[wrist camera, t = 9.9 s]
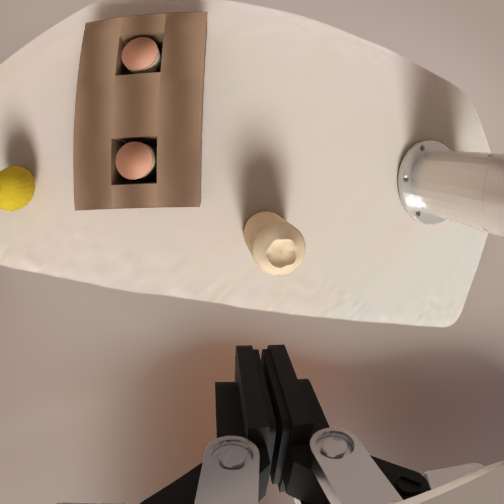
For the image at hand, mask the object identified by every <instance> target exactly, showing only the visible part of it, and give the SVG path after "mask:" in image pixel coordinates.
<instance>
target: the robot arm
mask: <svg viewBox="0 0 504 504" xmlns="http://www.w3.org/2000/svg"><path fill="white" fill-rule="evenodd" d="M398 189H399V194H400V198H401V201H402V204H403V206H404V207H405V209H406V211H407V212H408V213H409V214H410V216H411V217H413V218H414V219H415V220H417V221H419V222H421V223H425V224H438V223H441V222H443V221H444V220H446V219H448V220H451V221H454V222H457V223H461V224H464V225H467V226H470V227H473V228H476V229H479V230H482V231H485V232H488V233H491V234H494V235H497V236H500V237H503V238H504V154H496V153H480V152H457V151H451V150H450V149H449V148H448V147H447V146H446V145H444V144H442V143H440V142H438V141H432V140H428V141H422V142H418V143H417V144H415V145H413V146H412V147H411V148H410V149H409V150H408V151H407V153H406V154H405V156H404V158H403V160H402V162H401V165H400V169H399V175H398ZM215 390H216V391H215V394H216V428H217V439H215V440H213V441H212V442H211V443H210V444H209V445H208V446H207V448H206V450H205V454H204V459H203V462H202V463H201V464H199V465H198V466H197V467H195V468H194V469H192V470H191V471H189V472H188V473H186V474H185V475H183V476H182V477H180V478H179V479H177V480H176V481H175V482H173V483H171V484H170V485H168V486H167V487H165V488H163V489H162V490H160V491H159V492H157V493H155V494H154V495H152V496H151V497H149V498H147V499H146V500H144V501H143V502H142V503H140V504H258V502H259V501H260V500H261V499H262V498H263V497H264V496H265V495H266V489H267V484H268V481H269V475H270V476H271V481H272V484H278V487H279V491H280V492H284V491H286V493H287V494H288V495H290V496H292V497H294V501H295V504H504V461H503V462H499V463H495V464H492V465H489V466H486V467H484V466H483V465H481V464H478V463H469V464H464V465H459V466H455V467H449V468H444V469H438V470H431V471H426V472H425V473H424V474H423V475H421V474H420V473H418V472H415V471H413V470H410V469H407V468H404V467H401V466H398V465H395V464H392V463H390V462H387V461H384V460H381V459H379V458H376V457H373V456H371V455H369V454H368V452H367V451H366V449H365V448H364V447H363V445H362V444H361V443H360V441H359V440H358V439H357V438H356V436H355V435H354V434H352V433H351V432H349V431H347V430H345V429H341V428H334V427H331V428H330V427H329V425H328V423H327V420H326V418H325V416H324V413H323V411H322V409H321V406H320V404H319V402H318V400H317V397H316V395H315V392H314V391H313V388H312V386H311V383H310V381H309V380H308V379H297V377H296V374H295V372H294V369H293V366H292V364H291V361H290V359H289V356H288V353H287V350H286V348H285V346H284V345H268V348H267V349H263V350H262V356H261V359H260V355H259V351H258V350H253V348H252V346H236V356H235V382H215ZM57 504H89V503H57ZM90 504H93V503H90ZM94 504H95V503H94ZM102 504H126V503H102Z"/></svg>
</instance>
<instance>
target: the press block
mask: <svg viewBox="0 0 504 504" xmlns="http://www.w3.org/2000/svg"><path fill="white" fill-rule="evenodd" d="M139 37H147V38H150V39H152V40H153V41H154V42H155V43H156V45H157V47H158V50H162V59H161V72H154V73H140V74H129V69H128V68H127V67H126V66H125V65H124V63H123V61H122V51H123V49H124V47H125V46H126V45H127V44H128V43H129V42H130V41H131V40H133V39H136V38H139ZM206 38H207V12H181V13H161V14H148V15H138V16H129V17H121V18H113V19H107V20H101V21H95V22H89V23H86V25H85V31H84V37H83V43H82V49H81V56H80V64H79V72H78V81H77V92H76V104H75V121H74V155H73V168H74V202H75V210H95V209H121V208H155V207H200V203H201V154H202V117H203V91H204V71H205V53H206ZM150 140H157V181H139V182H125V177H123V176H122V175H121V174H120V173H119V172H118V170H117V167H116V156H117V153H118V151H119V150H120V148H121V147H122V146H124V145H125V142H131V141H150Z"/></svg>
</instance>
